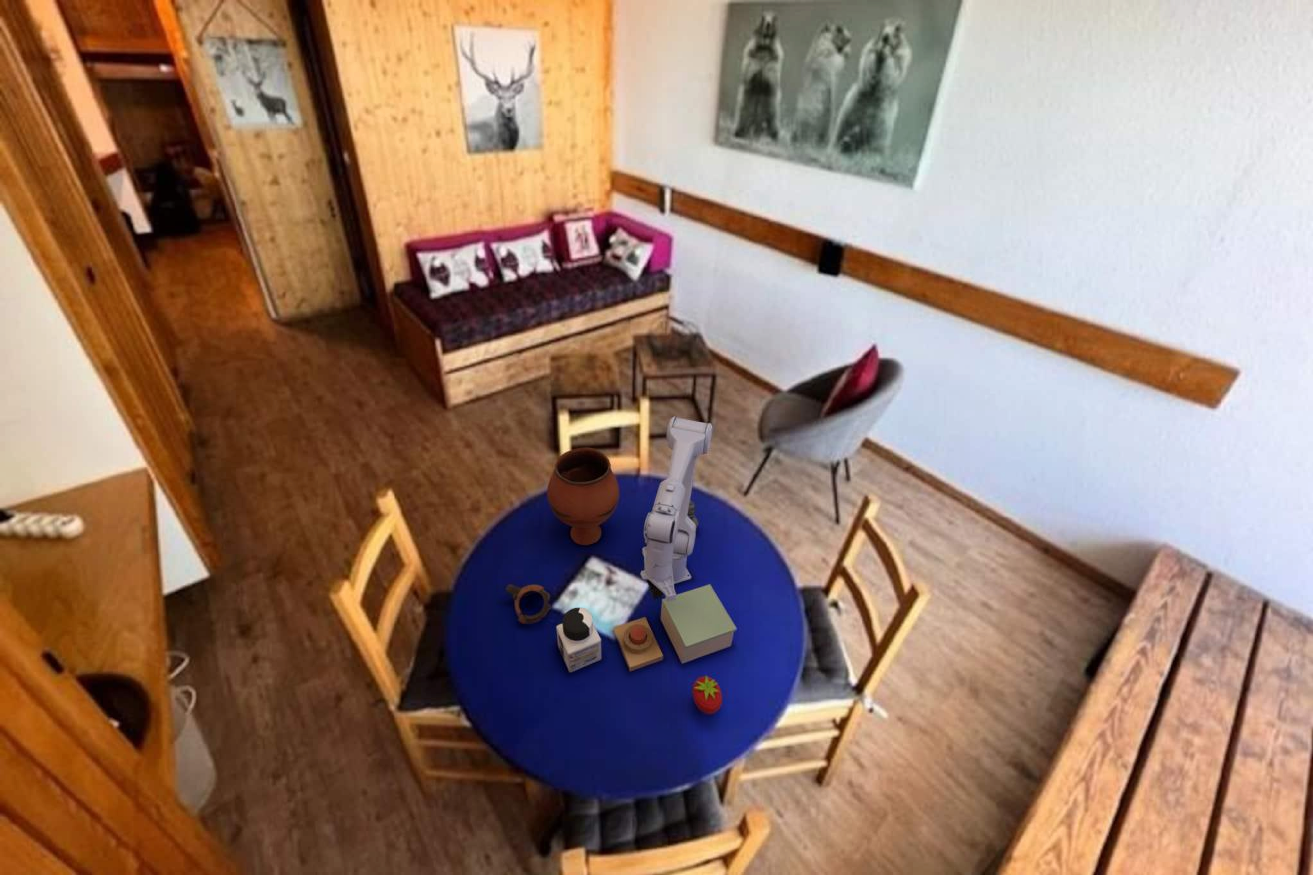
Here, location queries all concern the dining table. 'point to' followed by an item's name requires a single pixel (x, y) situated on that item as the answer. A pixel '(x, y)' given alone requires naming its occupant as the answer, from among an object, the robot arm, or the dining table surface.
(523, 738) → the dining table surface
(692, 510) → the salt shaker
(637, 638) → the button
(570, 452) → the goblet
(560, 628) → the container
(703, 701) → the strawberry
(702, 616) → the lid
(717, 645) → the wooden box
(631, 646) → the control block
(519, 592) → the rusty metal ring
